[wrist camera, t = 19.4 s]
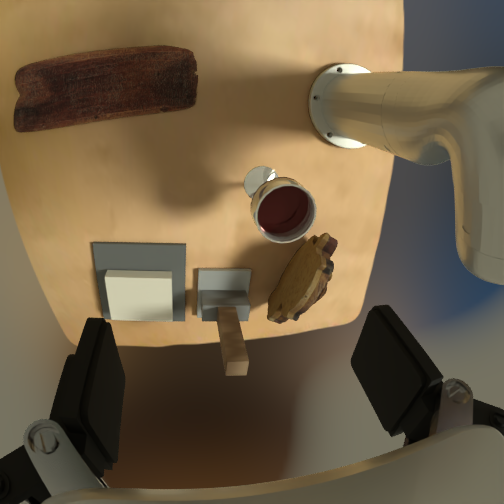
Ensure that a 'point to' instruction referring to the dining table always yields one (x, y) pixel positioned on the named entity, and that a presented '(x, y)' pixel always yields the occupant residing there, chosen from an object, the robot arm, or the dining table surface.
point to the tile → (140, 295)
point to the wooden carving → (303, 279)
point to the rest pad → (222, 281)
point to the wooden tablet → (104, 86)
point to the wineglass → (279, 205)
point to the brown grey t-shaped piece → (228, 325)
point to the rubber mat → (142, 267)
